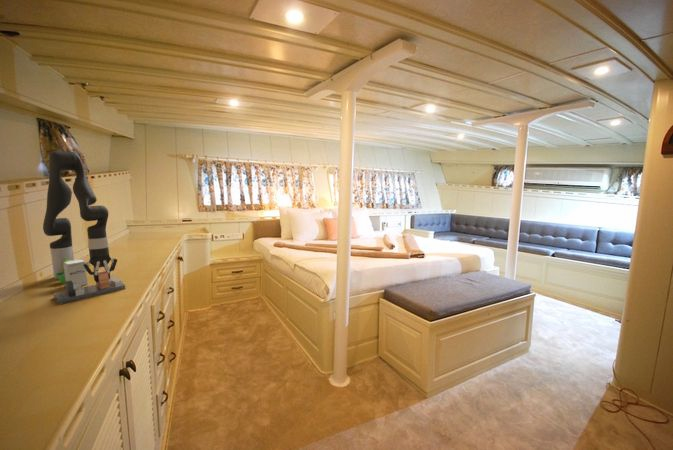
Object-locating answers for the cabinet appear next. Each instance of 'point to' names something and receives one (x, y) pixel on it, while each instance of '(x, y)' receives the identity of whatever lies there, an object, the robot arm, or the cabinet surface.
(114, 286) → the vise
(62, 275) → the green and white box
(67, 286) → the sliding jaw
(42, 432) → the cabinet surface
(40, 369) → the cabinet surface
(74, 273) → the supplement box
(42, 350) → the cabinet surface
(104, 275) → the block
